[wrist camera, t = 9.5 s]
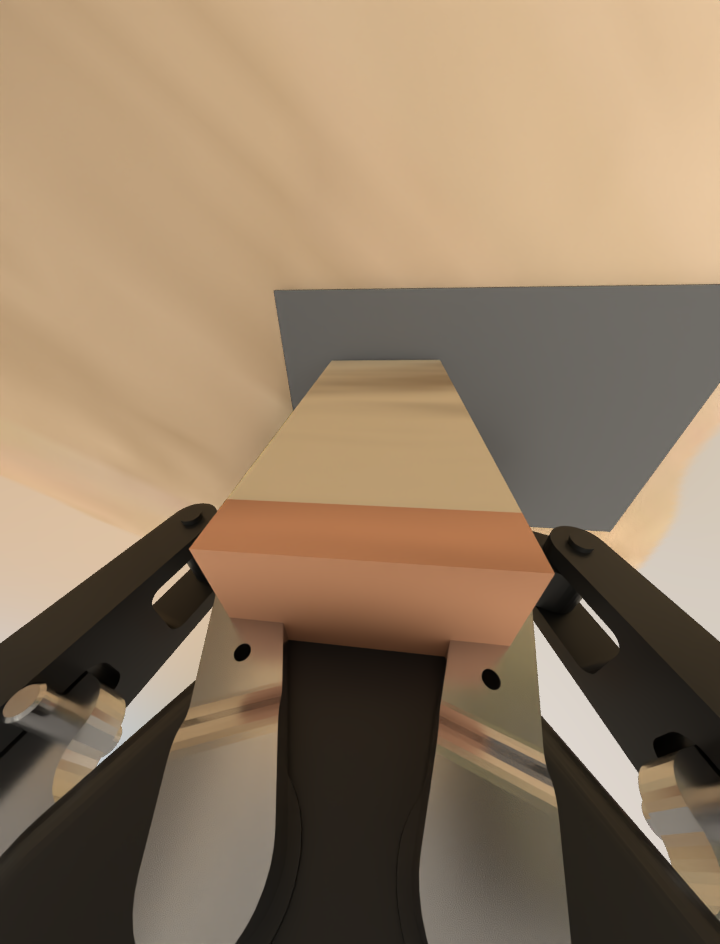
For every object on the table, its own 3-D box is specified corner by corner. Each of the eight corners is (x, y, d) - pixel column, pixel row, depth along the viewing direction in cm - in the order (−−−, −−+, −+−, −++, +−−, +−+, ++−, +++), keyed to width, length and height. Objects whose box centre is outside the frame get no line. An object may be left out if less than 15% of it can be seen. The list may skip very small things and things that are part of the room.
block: (331, 360, 12) (188, 549, 4) (439, 359, 11) (555, 573, 3) (342, 489, 16) (287, 714, 8) (422, 492, 15) (453, 735, 7)
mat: (277, 290, 11) (273, 290, 11) (778, 283, 10) (792, 283, 9) (311, 509, 18) (309, 513, 18) (606, 526, 16) (610, 531, 16)
